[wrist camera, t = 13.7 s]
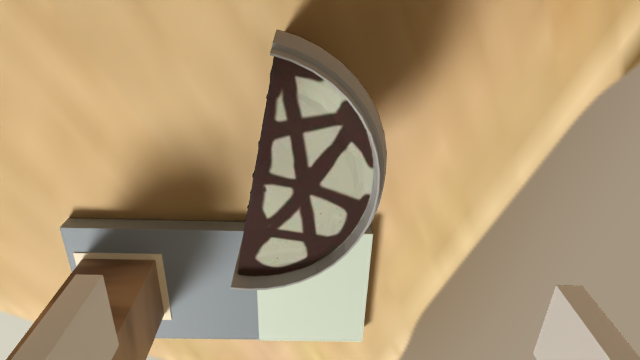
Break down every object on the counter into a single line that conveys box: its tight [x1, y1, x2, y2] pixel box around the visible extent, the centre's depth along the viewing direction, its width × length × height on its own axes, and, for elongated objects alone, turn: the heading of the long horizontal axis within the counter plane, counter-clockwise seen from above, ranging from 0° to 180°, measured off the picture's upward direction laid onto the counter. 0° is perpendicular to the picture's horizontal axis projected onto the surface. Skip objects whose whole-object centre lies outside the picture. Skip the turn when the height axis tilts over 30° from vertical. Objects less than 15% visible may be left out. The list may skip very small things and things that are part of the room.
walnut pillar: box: [6, 259, 164, 360], centre depth 28 cm, size 5×5×10 cm
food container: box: [230, 30, 387, 290], centre depth 24 cm, size 12×6×10 cm, turn 167°
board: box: [60, 218, 373, 342], centre depth 33 cm, size 21×10×1 cm, turn 88°
